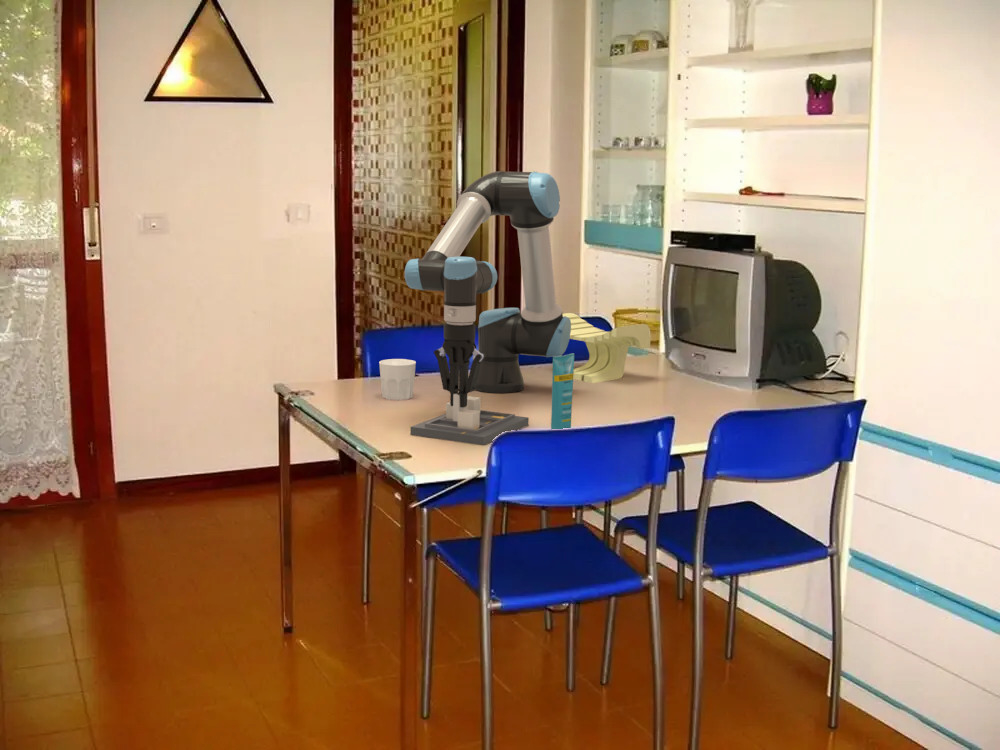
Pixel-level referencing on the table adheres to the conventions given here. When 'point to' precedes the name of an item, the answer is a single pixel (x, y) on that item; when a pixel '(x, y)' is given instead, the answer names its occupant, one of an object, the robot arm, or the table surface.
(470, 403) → the tab far
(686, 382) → the table surface
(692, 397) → the table surface
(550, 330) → the robot arm
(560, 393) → the tube
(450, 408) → the tab mid
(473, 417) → the white cube
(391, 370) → the cup
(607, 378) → the slatted curved stool
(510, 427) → the switch board
